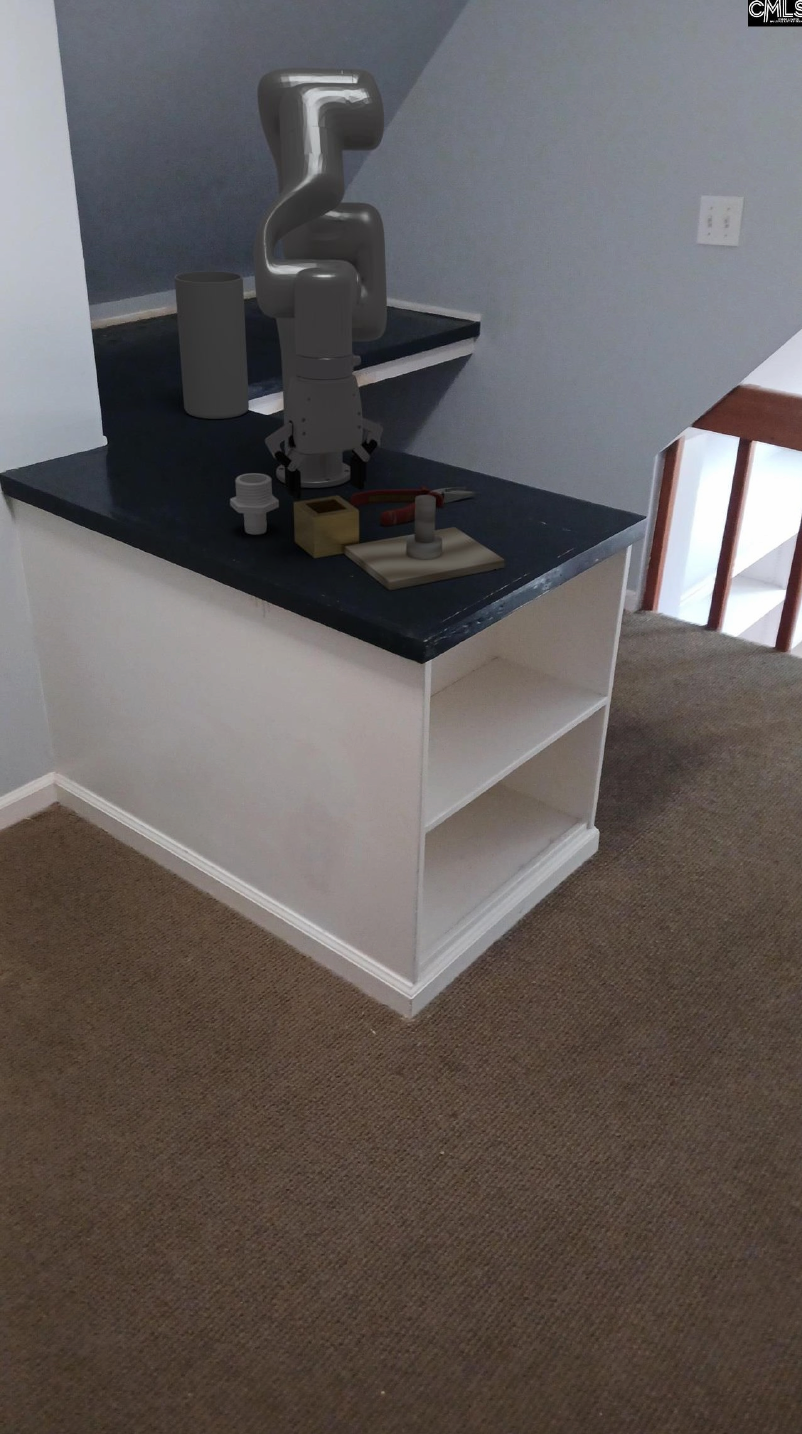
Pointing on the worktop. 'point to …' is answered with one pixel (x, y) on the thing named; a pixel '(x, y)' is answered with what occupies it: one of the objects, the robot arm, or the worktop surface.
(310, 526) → the hollow wooden cube
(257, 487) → the pipe fitting
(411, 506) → the pliers
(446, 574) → the post stand
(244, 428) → the worktop surface
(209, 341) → the cylinder vase
